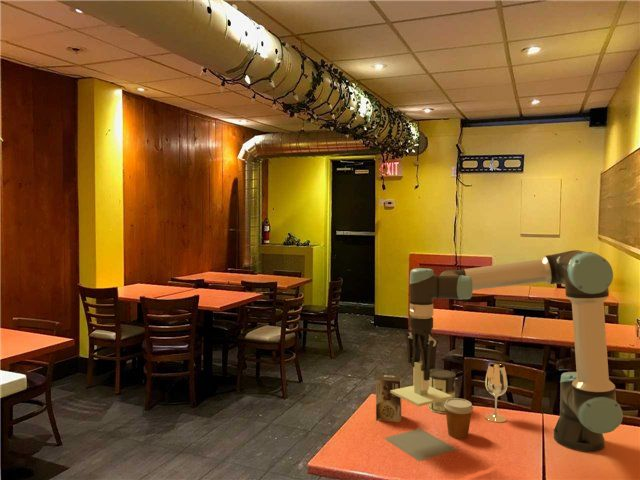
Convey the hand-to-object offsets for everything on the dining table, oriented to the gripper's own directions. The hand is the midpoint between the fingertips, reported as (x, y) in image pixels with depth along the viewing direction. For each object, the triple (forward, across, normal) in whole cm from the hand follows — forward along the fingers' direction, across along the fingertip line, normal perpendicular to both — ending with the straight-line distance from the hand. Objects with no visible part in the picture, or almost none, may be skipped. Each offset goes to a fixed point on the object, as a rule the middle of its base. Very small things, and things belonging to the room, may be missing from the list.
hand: (420, 387), depth 162 cm
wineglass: (+20, -4, +40) cm, 45 cm away
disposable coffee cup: (+20, +1, +16) cm, 25 cm away
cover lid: (+3, 0, 0) cm, 3 cm away
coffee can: (+20, -21, +29) cm, 41 cm away
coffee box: (+20, -22, +4) cm, 30 cm away
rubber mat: (+20, 0, 0) cm, 20 cm away
